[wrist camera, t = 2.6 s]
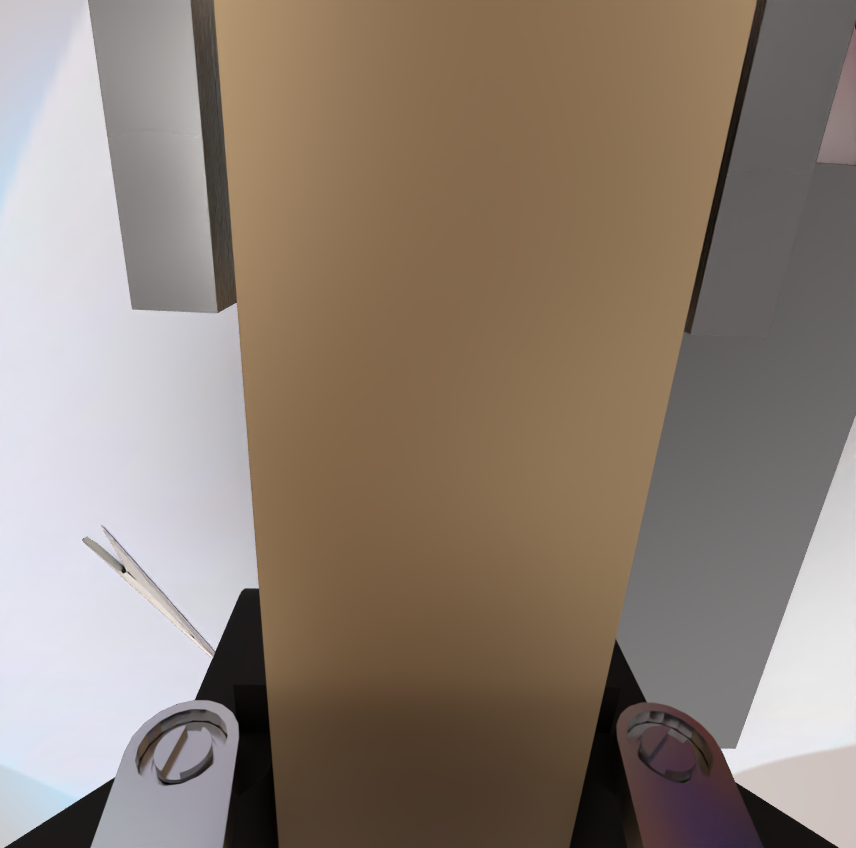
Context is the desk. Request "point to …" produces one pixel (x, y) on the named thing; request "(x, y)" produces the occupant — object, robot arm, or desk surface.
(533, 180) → the rail
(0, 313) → the desk surface
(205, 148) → the rack
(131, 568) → the silver long thin piece
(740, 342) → the mat
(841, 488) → the desk surface
